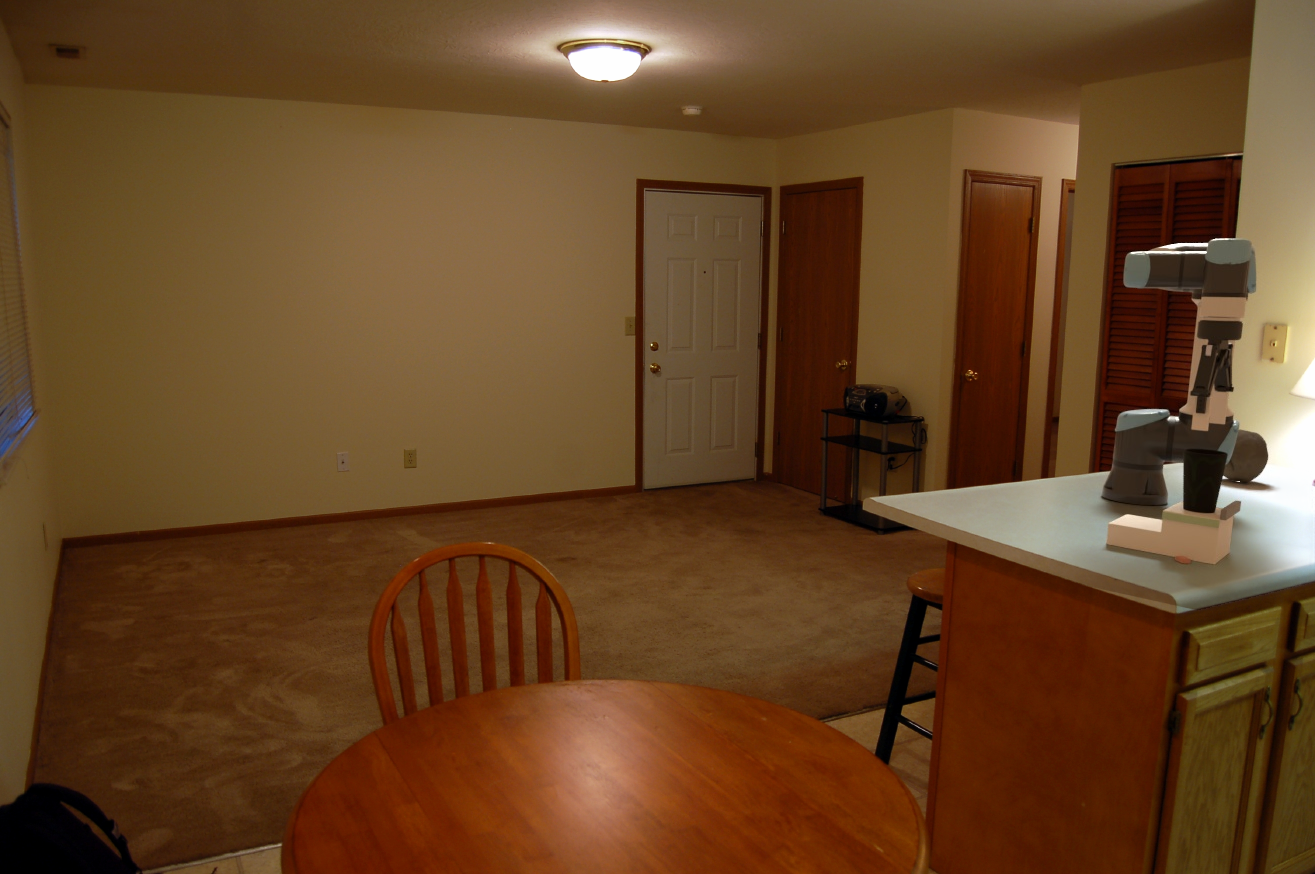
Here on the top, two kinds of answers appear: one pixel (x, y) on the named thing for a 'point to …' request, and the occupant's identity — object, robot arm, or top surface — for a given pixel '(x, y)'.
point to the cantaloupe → (1247, 457)
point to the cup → (1202, 479)
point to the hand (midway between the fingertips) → (1208, 426)
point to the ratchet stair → (1178, 533)
